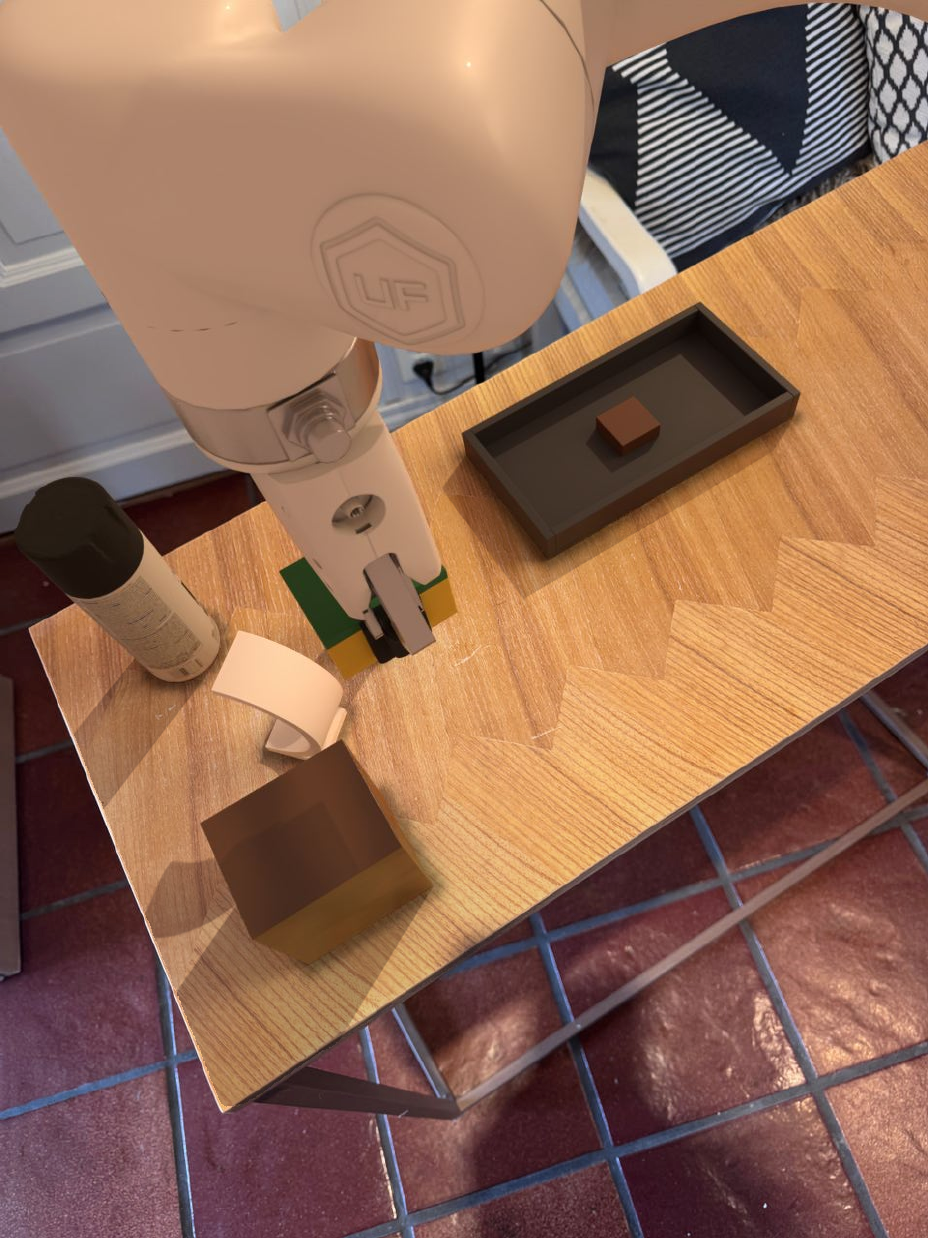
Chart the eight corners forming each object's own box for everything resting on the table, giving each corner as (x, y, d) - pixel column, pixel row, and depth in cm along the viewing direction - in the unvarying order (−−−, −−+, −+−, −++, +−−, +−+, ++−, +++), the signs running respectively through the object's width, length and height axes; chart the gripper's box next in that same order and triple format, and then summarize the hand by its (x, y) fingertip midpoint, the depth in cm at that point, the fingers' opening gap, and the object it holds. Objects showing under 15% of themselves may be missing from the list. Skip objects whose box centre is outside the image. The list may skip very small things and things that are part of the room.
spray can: (235, 621, 75) (127, 479, 57) (204, 693, 72) (80, 568, 54) (166, 607, 76) (40, 464, 59) (132, 677, 74) (-10, 550, 56)
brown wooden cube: (381, 793, 66) (342, 738, 56) (433, 886, 63) (402, 846, 52) (262, 865, 65) (199, 823, 54) (309, 965, 61) (251, 940, 51)
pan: (696, 326, 84) (700, 300, 81) (793, 416, 77) (801, 392, 75) (465, 454, 80) (461, 432, 77) (548, 560, 74) (546, 540, 71)
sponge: (412, 548, 50) (396, 502, 46) (458, 612, 47) (446, 569, 43) (303, 612, 49) (278, 570, 45) (345, 681, 46) (322, 643, 42)
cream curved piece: (290, 697, 71) (238, 629, 60) (359, 715, 69) (319, 649, 59) (267, 750, 69) (210, 690, 58) (338, 770, 67) (292, 711, 57)
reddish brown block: (632, 406, 79) (633, 395, 78) (659, 435, 78) (661, 424, 76) (595, 427, 79) (595, 416, 77) (622, 457, 77) (622, 446, 76)
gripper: (487, 467, 28) (524, 690, 44) (263, 196, 36) (363, 469, 52) (281, 587, 27) (395, 771, 43) (95, 281, 35) (251, 533, 51)
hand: (377, 604), depth 47 cm, fingers closed on sponge, 5 cm apart
